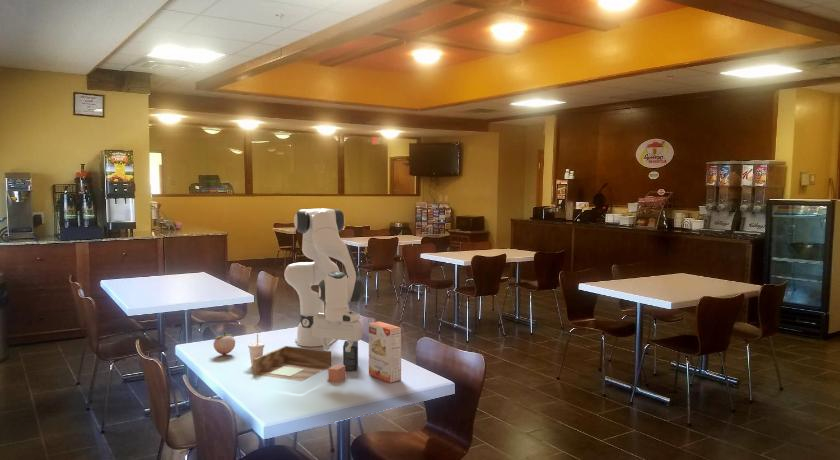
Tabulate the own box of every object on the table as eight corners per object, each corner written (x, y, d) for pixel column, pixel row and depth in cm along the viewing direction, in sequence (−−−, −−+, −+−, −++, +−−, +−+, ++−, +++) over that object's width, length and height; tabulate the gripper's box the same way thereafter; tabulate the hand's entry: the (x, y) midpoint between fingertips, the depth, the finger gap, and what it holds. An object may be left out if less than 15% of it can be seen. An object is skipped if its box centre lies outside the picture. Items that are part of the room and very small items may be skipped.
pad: (283, 366, 242) (283, 366, 242) (304, 369, 239) (304, 369, 239) (268, 373, 233) (268, 373, 233) (290, 376, 229) (290, 376, 229)
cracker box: (367, 375, 235) (367, 322, 234) (380, 372, 239) (380, 320, 237) (389, 383, 224) (389, 329, 223) (401, 380, 228) (402, 326, 227)
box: (344, 365, 247) (344, 340, 247) (358, 365, 248) (358, 340, 247) (342, 371, 239) (342, 345, 239) (357, 371, 240) (357, 345, 239)
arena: (285, 361, 253) (285, 345, 252) (331, 367, 245) (331, 351, 244) (253, 376, 232) (253, 359, 232) (301, 383, 224) (301, 365, 224)
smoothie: (260, 370, 240) (259, 336, 239) (245, 369, 241) (245, 335, 240) (267, 365, 246) (267, 332, 245) (253, 364, 247) (252, 331, 247)
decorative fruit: (223, 359, 256) (223, 336, 255) (210, 356, 260) (210, 333, 259) (240, 354, 264) (239, 332, 263) (227, 351, 268) (226, 329, 267)
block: (336, 377, 232) (336, 364, 232) (345, 378, 231) (345, 365, 231) (328, 381, 227) (328, 368, 226) (337, 382, 225) (337, 369, 225)
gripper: (309, 314, 228) (309, 349, 229) (356, 318, 221) (356, 355, 221) (317, 311, 234) (317, 346, 235) (364, 315, 226) (364, 351, 227)
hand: (337, 350), depth 228 cm, fingers open, 8 cm apart
